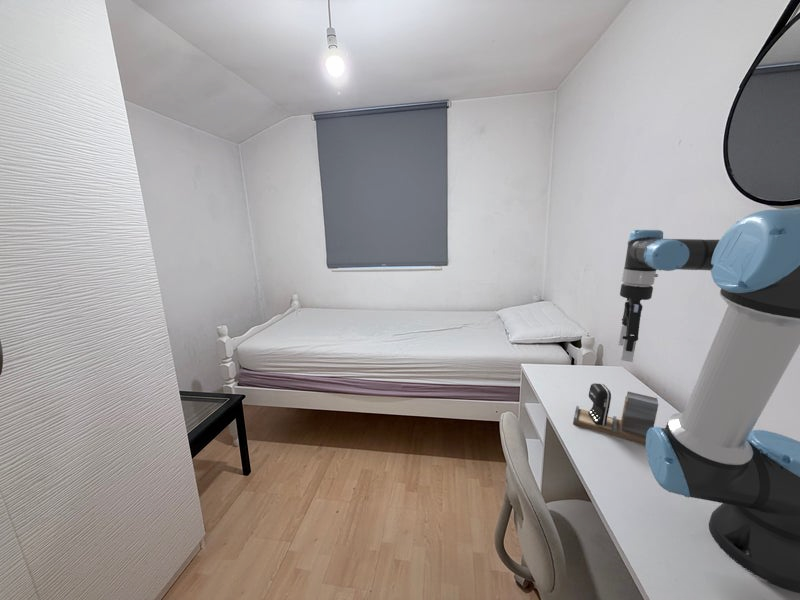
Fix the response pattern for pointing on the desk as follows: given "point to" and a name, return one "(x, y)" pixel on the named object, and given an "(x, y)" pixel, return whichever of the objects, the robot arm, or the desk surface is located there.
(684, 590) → the desk surface
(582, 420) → the organizer
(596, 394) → the battery charger
